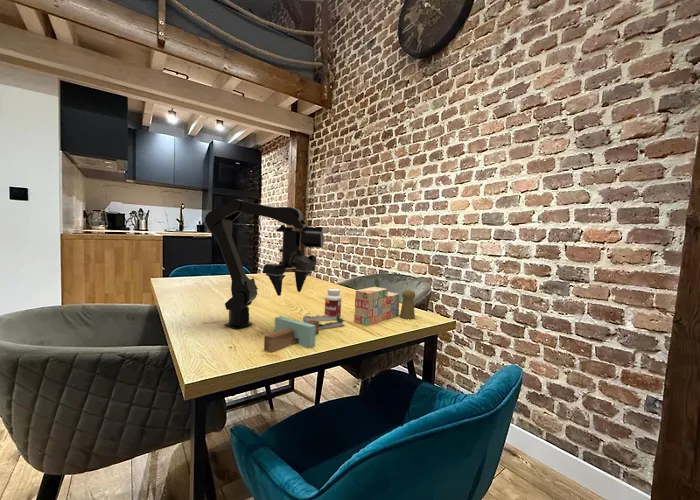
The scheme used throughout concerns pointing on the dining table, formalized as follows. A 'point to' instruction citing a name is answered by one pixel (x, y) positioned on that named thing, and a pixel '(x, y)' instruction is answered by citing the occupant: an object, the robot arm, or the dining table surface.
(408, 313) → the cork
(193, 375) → the dining table surface
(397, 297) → the stack of blocks
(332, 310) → the pill bottle
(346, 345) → the dining table surface
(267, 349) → the walnut board
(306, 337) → the teal plate
